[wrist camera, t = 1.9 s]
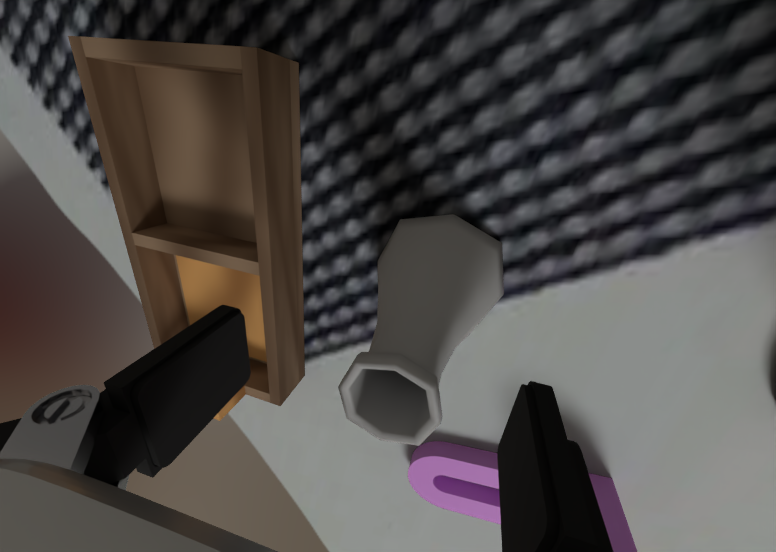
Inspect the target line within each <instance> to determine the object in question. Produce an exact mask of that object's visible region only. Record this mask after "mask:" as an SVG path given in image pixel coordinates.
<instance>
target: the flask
mask: <svg viewBox="0 0 776 552" xmlns="http://www.w3.org/2000/svg"><path fill="white" fill-rule="evenodd" d="M503 294H504V285H503V254H502V243H501V242H499V241H498V240H496V239H494V238H493V237H491V236H489V235H488V234H486V233H484V232H483V231H481V230H479V229H478V228H476V227H474V226H473V225H471V224H469V223H468V222H466V221H464V220H463V219H461V218H459V217H457V216H456V215H454V214H450V215H440V216H430V217H420V218H409V219H400V221H399V222H398V224H397V226H396V228H395V230H394V232H393V233H392V235H391V237H390V239H389V241H388V243H387V245H386V246H385V248H384V250H383V252H382V254H381V256H380V257H379V259H378V321H377V325H376V329H375V333H374V336H373V340H372V343H371V347H370V350H369V352H361V353H360V354H359V355H357V357H356V358H355V360H354V362H353V363H352V365H351V366H350V368H349V370H348V371H347V373H346V375H345V376H344V378H343V379H342V381H341V383H340V385H339V391H340V395H341V399H342V402H343V406H344V410H345V413H346V417H347V419H349V420H350V421H352V422H353V423H355V424H356V425H358V426H359V427H361V428H362V429H364V430H366V431H367V432H369V433H370V434H372V435H373V436H375V437H376V438H378V439H379V440H383V441H390V442H397V443H404V444H411V445H417V446H419V445H420V444H421V443H422V442H423V441H424V440H425V439H426V438H427V437H428V436H429V435H430V434H431V433H432V432H433V431H434V430H435V429H436V428H437V427H438V426H439V425H440V424H441V420H442V410H441V402H440V394H439V382H440V378H441V374H442V372H443V370H444V368H445V366H446V364H447V362H448V360H449V359H450V357H451V355H452V353H453V351H454V349H455V348H456V347H457V346H458V345H459V344H460V343H461V342H462V341H463V340H464V339H465V338H466V337H467V336H468V335H469V334H470V333H471V332H472V331H473V330H474V329H475V328H476V326H477V325H478V324H479V323H480V322H481V321H482V319H483V318H484V317H485V316H486V315H487V313H488V312H489V311H490V310H491V309H492V307H493V306H494V305H495V304H496V303H497V302H498V300H499V299H500V298H501V297H502V296H503Z"/></svg>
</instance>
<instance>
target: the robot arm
mask: <svg viewBox="0 0 776 552" xmlns="http://www.w3.org/2000/svg"><path fill="white" fill-rule="evenodd" d="M250 374H251V370H250V361H249V352H248V344H247V335H246V326H245V317H244V315H243V314H242V313H241V310H240V309H238V308H235V307H231V306H227V305H221V306H219V307H217V308H216V309H214V310H213V311H211V312H210V313H208V314H206V315H205V316H203V317H202V318H200V319H199V320H197V321H196V322H194V323H193V324H191V325H190V326H188V327H187V328H185V329H184V330H182V331H181V332H179V333H178V334H176V335H175V336H173V337H172V338H170V339H169V340H167V341H166V342H164V343H163V344H161V345H160V346H158V347H157V348H155V349H154V350H152V351H151V352H149V353H148V354H146V355H145V356H143V357H141V358H140V359H138V360H137V361H135V362H134V363H132V364H131V365H129V366H128V367H126V368H125V369H124V370H122V371H120V372H119V373H117V374H116V375H114V376H113V377H111V378H110V379H108V380H107V381H105V382H104V385H105V387H106V389H105V390H104V391H103V392H101V393H100V392H99V391H98V389H97V388H95V387H93V386H89V385H78V386H72V387H68V388H64V389H61V390H58V391H56V392H54V393H51V394H49V395H47V396H45V397H44V398H42V399H40V400H39V401H37V402H36V403H35V404H33V405H32V406H31V407H30V408H29V409H28V410H27V412H26V413H25V414H24V416H23V417H22V418H20V419H16V420H13V421H9V422H4V423H0V552H277V551H275V550H272V549H270V548H268V547H265V546H263V545H260V544H258V543H255V542H253V541H250V540H248V539H245V538H243V537H240V536H238V535H235V534H233V533H230V532H228V531H226V530H223V529H221V528H218V527H216V526H213V525H211V524H208V523H206V522H203V521H201V520H198V519H196V518H193V517H191V516H188V515H186V514H183V513H181V512H178V511H176V510H173V509H171V508H168V507H166V506H163V505H161V504H158V503H156V502H153V501H151V500H148V499H146V498H143V497H140V496H138V495H136V494H133V493H131V492H128V491H126V486H127V482H128V478H129V474H130V473H131V472H132V471H133V470H134V469H135V468H137V471H138V472H140V473H142V474H145V475H148V476H150V477H154V476H155V475H156V474H157V473H158V472H159V471H160V470H161V469H162V467H163V468H164V467H166V466H168V465H169V464H171V463H172V462H173V460H175V458H176V457H177V456H178V455H179V454H180V453H181V452H182V451H183V450H184V449H185V448H186V447H187V446H188V445H189V444H190V442H191V441H192V440H193V439H194V438H195V437H196V436H197V435H198V434H199V433H200V432H201V431H202V430H203V429H204V428H205V426H206V425H207V424H208V423H209V422H210V421H211V420H212V419H213V418H214V417H215V416H216V415H217V414H218V413H219V412H220V410H221V409H222V408H223V407H224V406H225V405H226V404H227V403H228V402H229V401H230V400H231V399H232V398H233V397H234V395H235V394H236V393H237V392H238V391H239V390H240V389H241V388H242V387H243V386H244V385H245V384H246V383H247V381H248V380H249V378H250ZM497 460H498V478H499V497H500V515H501V534H502V552H614V551H613V548H612V545H611V542H610V539H609V536H608V533H607V530H606V526H605V523H604V520H603V517H602V514H601V511H600V508H599V505H598V501H597V498H596V495H595V492H594V489H593V486H592V483H591V479H590V476H589V473H588V470H587V467H586V464H585V461H584V458H583V454H582V451H581V449H580V447H579V445H578V444H577V443H576V442H574V441H570V440H567V436H566V433H565V429H564V426H563V422H562V419H561V415H560V412H559V408H558V405H557V401H556V398H555V394H554V391H553V388H552V387H551V386H548V385H544V384H540V383H536V382H532V381H530V382H529V383H528V385H524V384H522V385H521V387H520V390H519V392H518V395H517V398H516V400H515V403H514V406H513V408H512V411H511V414H510V416H509V419H508V422H507V424H506V427H505V430H504V432H503V435H502V438H501V440H500V443H499V446H498V453H497Z"/></svg>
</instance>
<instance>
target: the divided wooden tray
mask: <svg viewBox="0 0 776 552" xmlns="http://www.w3.org/2000/svg"><path fill="white" fill-rule="evenodd" d="M68 37H69V41H70V44H71V48H72V52H73V55H74V59H75V63H76V66H77V70H78V73H79V77H80V81H81V84H82V88H83V92H84V95H85V99H86V102H87V106H88V110H89V113H90V117H91V121H92V124H93V128H94V131H95V135H96V139H97V142H98V146H99V150H100V153H101V157H102V161H103V164H104V168H105V171H106V175H107V179H108V182H109V186H110V190H111V193H112V197H113V200H114V204H115V208H116V211H117V215H118V219H119V222H120V226H121V229H122V233H123V237H124V240H125V244H126V248H127V251H128V255H129V258H130V262H131V266H132V269H133V273H134V277H135V280H136V284H137V287H138V291H139V295H140V298H141V302H142V306H143V309H144V313H145V316H146V320H147V324H148V327H149V331H150V335H151V338H152V342H153V345H154V349H155V348H157V347H158V346H160V345H161V344H163V343H164V342H166V341H167V340H169V339H170V338H172V337H173V336H175V335H176V334H178V333H179V332H181V331H182V330H184V329H185V328H187V327H188V326H190V325H191V324H193V323H194V322H196V321H197V320H199V319H200V318H202V317H203V316H205V315H206V314H208V313H210V312H211V311H213V310H214V309H216V308H217V307H219V306H221V305H227V306H231V307H235V308H238V309H240V310H241V313H242V314H243V315H244V317H245V326H246V335H247V344H248V352H249V361H250V370H251V374H250V378H249V380H248V381H247V383H246V384H245V385H244V386H243V387H242V388H241V389H240V390H239V391H238V392H237V393H236V394H235V395H234V397H233V398H232V399H231V400H230V401H229V402H228V403H227V404H226V405H225V406H224V407H223V408H222V409H221V410H220V412H219V413H218V414H217V415H216V416H215V417H214V419H217V420H219V421H220V420H221V419H222V418H223V417H224V416H225V415H226V414H227V413H228V412H229V411H230V410H231V409H232V408H233V407H234V406H235V405H236V404H237V403H238V402H239V401H240V400H241V399H242V397H243V396H244V395H245V394H247V395H250V396H253V397H255V398H258V399H261V400H264V401H267V402H270V403H273V404H276V405H278V406H281V405H282V404H283V402H284V401H285V400H286V398H287V397H288V396H289V395H290V393H291V392H292V391H293V390H294V388H295V387H296V386H297V384H298V383H299V382H300V381H301V379H302V378H303V377H304V376H305V364H304V312H303V260H302V208H301V155H300V103H299V63H298V62H295V61H292V60H290V59H287V58H284V57H281V56H279V55H276V54H273V53H271V52H268V51H265V50H262V49H260V48H257V47H242V46H226V45H209V44H193V43H176V42H160V41H143V40H127V39H110V38H94V37H77V36H68Z"/></svg>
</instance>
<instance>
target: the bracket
mask: <svg viewBox="0 0 776 552" xmlns="http://www.w3.org/2000/svg"><path fill="white" fill-rule="evenodd" d="M443 475H444V476H443ZM446 476H448V477H446ZM589 476H590V479H591V483H592V486H593V489H594V492H595V495H596V498H597V501H598V505H599V508H600V511H601V514H602V517H603V520H604V523H605V526H606V530H607V533H608V536H609V539H610V542H611V545H612V548H613V551H614V552H637V549H636V547H635V544H634V541H633V538H632V535H631V532H630V529H629V526H628V523H627V520H626V517H625V514H624V512H623V509H622V506H621V503H620V500H619V497H618V494H617V491H616V488H615V485H614V482H613V480H612V478H608V477H604V476H599V475H595V474H590V473H589ZM450 477H452V478H450ZM408 478H409V482H410V484H411V486H412V487H413V489H414V490H415V491H416V492H417V493H418V494H419V495H420V496H421V497H422V498H424V499H425V500H426V501H428V502H430V503H432V504H434V505H436V506H438V507H441V508H444V509H447V510H451V511H455V512H458V513H462V514H465V515H469V516H472V517H476V518H480V519H483V520H487V521H490V522H494V523H497V524H501V515H500V497H499V490H498V489H499V478H498V460H497V453H494V452H489V451H485V450H480V449H476V448H471V447H467V446H462V445H457V444H453V443H448V442H441V441H433V442H427V443H424V444H422V445H420V446H419V447H417V448H416V449H415V451H414V452H413V455H412V459H411V462H410V466H409V470H408ZM454 478H456V479H454ZM458 479H460V480H458ZM462 480H464V481H462ZM466 481H468V482H466ZM470 482H472V483H470ZM474 483H476V484H474ZM478 484H480V485H478ZM482 485H484V486H482ZM486 486H488V487H486ZM490 487H492V488H490ZM494 488H496V489H494Z"/></svg>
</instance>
